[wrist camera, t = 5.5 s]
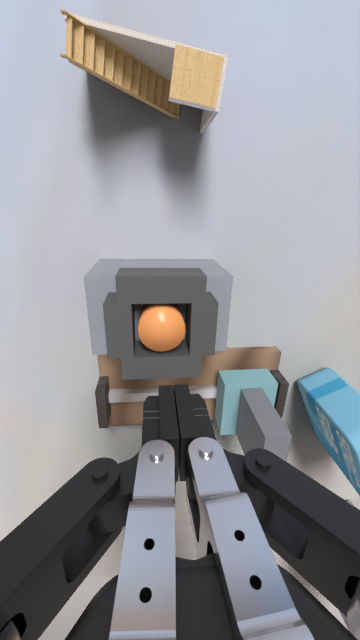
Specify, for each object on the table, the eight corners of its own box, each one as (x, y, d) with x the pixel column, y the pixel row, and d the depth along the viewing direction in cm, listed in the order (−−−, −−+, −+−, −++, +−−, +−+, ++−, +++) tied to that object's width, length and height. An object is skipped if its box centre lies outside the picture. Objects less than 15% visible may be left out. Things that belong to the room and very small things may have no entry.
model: (202, 134, 26) (221, 107, 19) (85, 108, 25) (59, 68, 17) (208, 93, 25) (232, 49, 18) (87, 64, 23) (60, 1, 16)
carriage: (267, 368, 33) (312, 430, 24) (260, 415, 36) (298, 486, 27) (218, 370, 33) (245, 434, 23) (214, 417, 35) (237, 491, 26)
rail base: (275, 346, 35) (292, 365, 31) (265, 409, 39) (278, 433, 35) (100, 351, 33) (92, 372, 29) (106, 417, 37) (101, 444, 33)
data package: (293, 376, 37) (354, 446, 26) (325, 362, 37) (399, 427, 26) (315, 434, 42) (374, 515, 31) (343, 422, 42) (412, 500, 31)
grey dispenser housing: (212, 253, 30) (245, 276, 20) (208, 324, 33) (234, 375, 23) (100, 252, 29) (72, 276, 19) (106, 326, 32) (86, 381, 22)
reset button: (182, 298, 23) (186, 307, 20) (181, 337, 24) (184, 350, 22) (138, 298, 22) (137, 308, 20) (139, 338, 24) (138, 352, 21)
